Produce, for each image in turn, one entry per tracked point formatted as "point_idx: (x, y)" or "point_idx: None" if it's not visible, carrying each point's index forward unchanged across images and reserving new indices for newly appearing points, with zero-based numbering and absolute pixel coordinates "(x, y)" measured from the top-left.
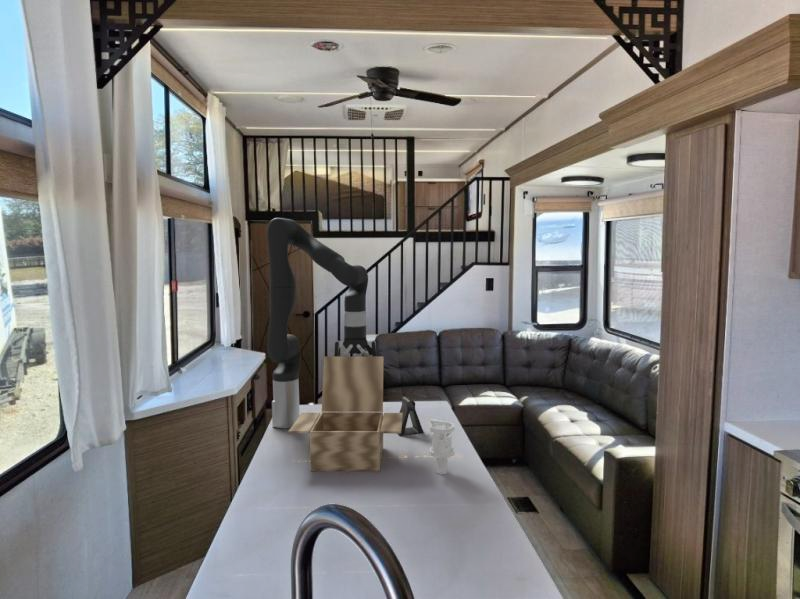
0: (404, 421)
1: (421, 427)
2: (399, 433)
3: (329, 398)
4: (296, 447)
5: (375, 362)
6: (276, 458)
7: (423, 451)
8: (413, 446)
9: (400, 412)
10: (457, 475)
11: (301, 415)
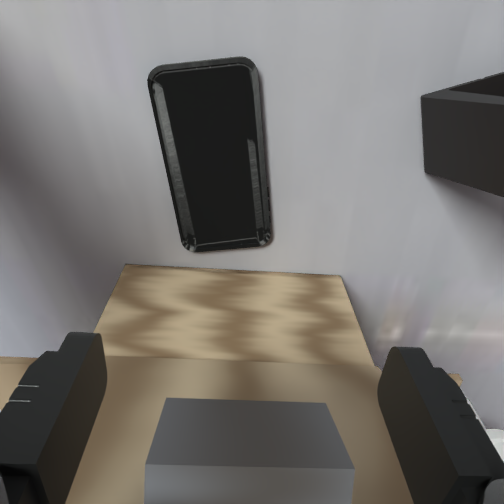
0: (479, 186)
1: None
2: (429, 171)
3: None
4: (31, 257)
5: None
6: (7, 330)
7: (461, 304)
8: (444, 268)
9: (500, 119)
10: (484, 418)
11: (3, 392)
